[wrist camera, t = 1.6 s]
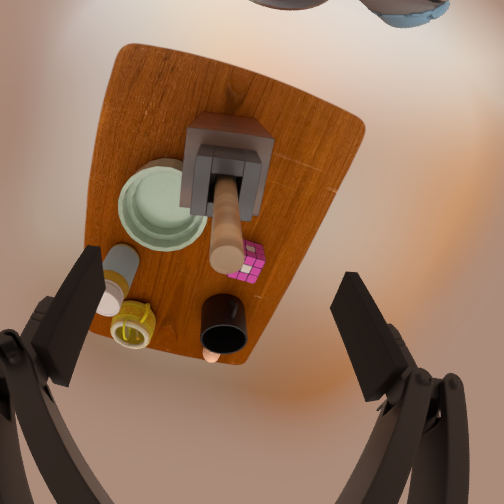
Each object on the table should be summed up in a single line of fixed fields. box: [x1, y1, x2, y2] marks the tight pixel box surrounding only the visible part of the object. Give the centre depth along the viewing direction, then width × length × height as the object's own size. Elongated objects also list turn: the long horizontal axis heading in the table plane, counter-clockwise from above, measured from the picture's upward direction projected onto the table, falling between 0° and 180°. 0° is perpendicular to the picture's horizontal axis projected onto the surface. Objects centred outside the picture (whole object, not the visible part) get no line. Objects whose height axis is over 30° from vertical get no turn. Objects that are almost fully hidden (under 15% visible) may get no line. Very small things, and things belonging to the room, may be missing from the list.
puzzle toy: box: [227, 239, 266, 283], centre depth 57 cm, size 6×6×6 cm
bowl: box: [118, 158, 207, 252], centre depth 49 cm, size 16×16×6 cm
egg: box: [203, 348, 220, 363], centre depth 71 cm, size 4×4×6 cm
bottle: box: [96, 243, 140, 316], centre depth 51 cm, size 7×7×15 cm
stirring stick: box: [209, 173, 245, 274], centre depth 23 cm, size 2×2×16 cm
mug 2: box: [200, 294, 248, 354], centre depth 62 cm, size 10×13×10 cm
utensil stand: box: [179, 112, 275, 222], centre depth 36 cm, size 9×9×25 cm
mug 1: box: [110, 300, 156, 349], centre depth 60 cm, size 13×11×12 cm
